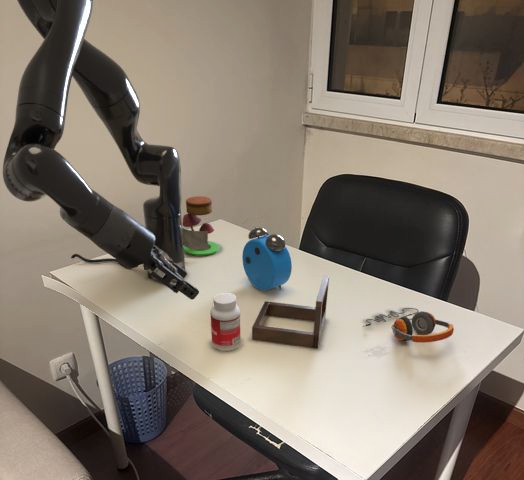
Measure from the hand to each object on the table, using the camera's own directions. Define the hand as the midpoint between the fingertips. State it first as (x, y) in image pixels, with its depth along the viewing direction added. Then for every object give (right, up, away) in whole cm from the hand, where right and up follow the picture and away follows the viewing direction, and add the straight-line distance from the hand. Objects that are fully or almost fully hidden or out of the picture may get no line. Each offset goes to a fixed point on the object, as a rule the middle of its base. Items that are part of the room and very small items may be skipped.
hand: (189, 285), depth 97 cm
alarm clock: (+15, +4, +34) cm, 37 cm away
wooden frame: (+20, -8, +16) cm, 27 cm away
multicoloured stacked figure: (-5, +18, +55) cm, 58 cm away
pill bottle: (+6, -11, +11) cm, 17 cm away
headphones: (+47, -9, +15) cm, 50 cm away
